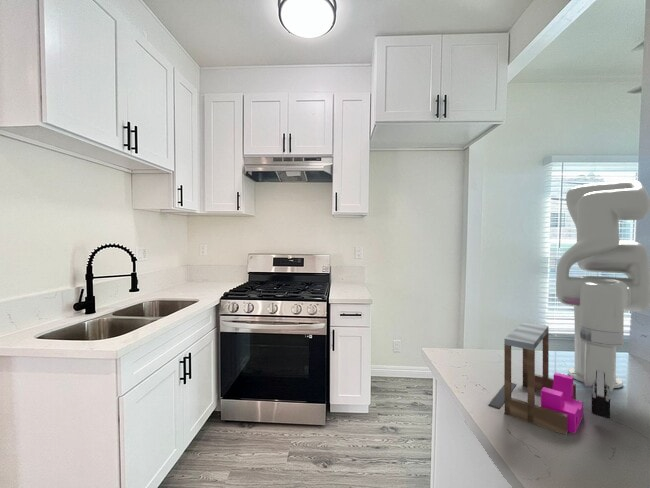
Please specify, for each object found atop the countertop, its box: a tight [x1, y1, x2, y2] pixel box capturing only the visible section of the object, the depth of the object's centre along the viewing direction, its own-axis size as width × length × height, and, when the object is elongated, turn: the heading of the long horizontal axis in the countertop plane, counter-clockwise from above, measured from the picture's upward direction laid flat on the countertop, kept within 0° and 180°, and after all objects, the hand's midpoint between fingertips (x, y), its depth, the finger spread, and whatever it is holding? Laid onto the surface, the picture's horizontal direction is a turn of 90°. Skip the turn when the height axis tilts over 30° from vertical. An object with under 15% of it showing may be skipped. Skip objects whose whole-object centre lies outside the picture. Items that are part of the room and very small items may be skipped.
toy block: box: [540, 371, 584, 434], centre depth 75 cm, size 15×6×8 cm, turn 132°
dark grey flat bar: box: [488, 382, 517, 410], centre depth 85 cm, size 18×2×1 cm, turn 136°
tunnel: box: [503, 321, 577, 436], centre depth 79 cm, size 21×12×18 cm, turn 136°
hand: (600, 414), depth 71 cm, fingers closed
